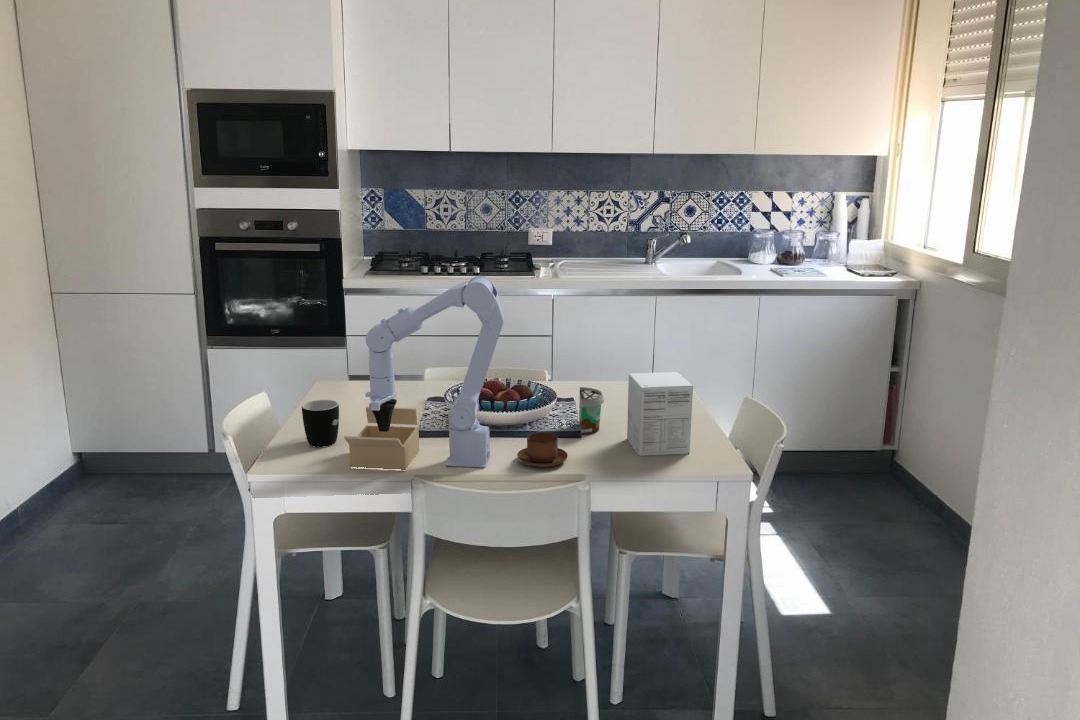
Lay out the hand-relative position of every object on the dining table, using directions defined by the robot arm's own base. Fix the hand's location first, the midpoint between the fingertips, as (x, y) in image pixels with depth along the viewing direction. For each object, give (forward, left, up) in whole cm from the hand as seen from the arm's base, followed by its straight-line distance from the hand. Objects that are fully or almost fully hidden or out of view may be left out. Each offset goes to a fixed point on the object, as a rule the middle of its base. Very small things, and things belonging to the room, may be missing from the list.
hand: (384, 430), depth 213 cm
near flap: (0, +9, +1) cm, 9 cm away
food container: (-48, -28, -8) cm, 56 cm away
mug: (+19, -11, -8) cm, 23 cm away
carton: (0, 0, -7) cm, 7 cm away
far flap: (0, -7, +1) cm, 7 cm away
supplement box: (-65, -17, -8) cm, 68 cm away
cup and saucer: (-37, -3, -8) cm, 38 cm away
